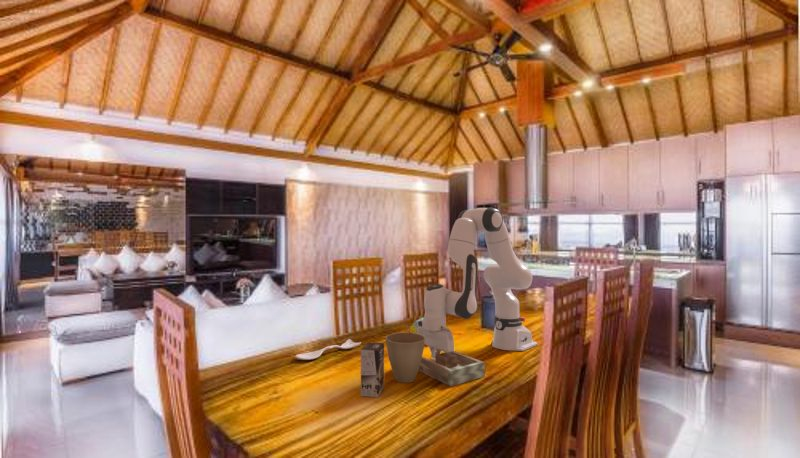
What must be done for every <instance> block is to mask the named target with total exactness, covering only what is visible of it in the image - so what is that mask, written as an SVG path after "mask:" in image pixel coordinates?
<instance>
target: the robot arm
mask: <svg viewBox="0 0 800 458" xmlns="http://www.w3.org/2000/svg"><path fill="white" fill-rule="evenodd" d="M503 219H504V218H503V215H502V213H501V212H500V210H499V209H497V208H495V207H477V208H471V209H464V210H463V211H461V212H460V213H459V215H458V217H457V219H455V220H454V221H455V222H454V224H453V226H452V228H451V232H450V236H449V239H448V245H447V254H448V256H449V258H450V259H451V260H452V261H453V262H454V263H456V264H457V265H458V266H459V267H461V269H462V271H463V272H462V273H463V276H462V277H463V278H462V290H461V292H460V291H459V292H458V291H456V290H451V289H448V288H447V287H445V286H444V285H443V284H440V283H436V284H435V283H434V284H430V285H428V286H426V288H425V290H424V297H423V299H424V302H423V303H424V305H423V308H424V316H423V318H424V320H419V321H417V320H416V321H417V325H418V328H417V334H420V335H423V336H424V337H425V343H424V346H425V345H426V346H428V347H429V351H430V353H431V358H432V359H434V358H435V359H436V355H437V354H441V352H442V353H449V352H453V351H455V343H454V342H455V340H454V336H453V332H452V330H451V329H450V328H447V315H452V316H456V317H459V318H462V319H465V320H467V319H470V318H472V317H473V316H474V315H475V314H476V313H477V311H478V307H479V306H478V297H477V295H478V294H477V289H478V259H477V257H476V256H475V243H476V236H477V234H478V233H479V234H480V233H483V235H484V236H483V237H484V240H485V245H486V248H487V252H488V255H489V258H490V259H491V260H493V261H494V262H495V263H494V264H490V265H487V266H486V267H485V269H484V270H483V280H484V282H485V283H486V284H487V285H488V286H489V288H490V289H491V292H492V295H493V298H494V308H495V310H494V311H495V312H494V313H495V316H494V327H493V328H494V329H493V339H492V340H491V342H492V345H491V346H492V347H493V348H495V349H497V350H501V351H502V350H503V351H517V352H524V351H526V350H529V349H531V348H533V347H536V346H538V342H536V341H535V340H533V337H532V336H533V335H532V332H531V331H530V330H529V329H528V328H527V327H526V326H525V325H524V324H523V322H526V320H527V319H526V317H524V316H521V317H520V301H519V299H518V298H517V297H516V296H515V295H514V294H513V292H512V290H526V289H528V288H530V286H531V285H532V282H533V273H532V271H531V270H530V269H529V268H527V267H526V265H524V264H523V263H522V262H521V260H520V259H519V258H518V256H517V255H516V253H515V252H514V249H513V246H512V242H511V238H510V235H509V231H508V228H507V226H506V222H504V220H503ZM446 314H447V315H446Z"/></svg>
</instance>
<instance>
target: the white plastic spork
mask: <svg viewBox="0 0 800 458" xmlns="http://www.w3.org/2000/svg"><path fill="white" fill-rule="evenodd" d="M361 343H362V342H361V341H359V342H354V340H352V339H351V338H349V339H347V340H346V341H344V343H342V344H341V345H338V344H335V345H328V346H327V345H326V347H324V348H321V349H317V350H314V351H309V352H303V353H300V354H299V353H298V354H296V355H295V358H296V359H297V360H302V361H311V360H312V361H313V360H315V359H317V358H319V357H321V355H322V354H323V352H325V351H327V350H331V349H334V348H338V349H341V350H348V349H352V348H355V347H357V346H360V345H361Z"/></svg>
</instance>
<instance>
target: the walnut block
mask: <svg viewBox="0 0 800 458" xmlns="http://www.w3.org/2000/svg"><path fill="white" fill-rule="evenodd" d="M436 363H438V364H440V365H443V366H445V367H447V368H451V367H455V366H457V356H456V355H453V354H451V353H446V352H442V353H441V352H440V354H437V355H436Z"/></svg>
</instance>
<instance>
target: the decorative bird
mask: <svg viewBox="0 0 800 458" xmlns="http://www.w3.org/2000/svg"><path fill="white" fill-rule="evenodd" d="M419 320H424V316H422V317H421V318H420V319H419V318H418V319H416V320H415V321H414V323H413V324H412V325H411V326H408V325H407V324H405V326H406V329H407V333H416V334H417V328H418V325H417V321H419ZM409 329H410V330H411V331H409Z"/></svg>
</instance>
